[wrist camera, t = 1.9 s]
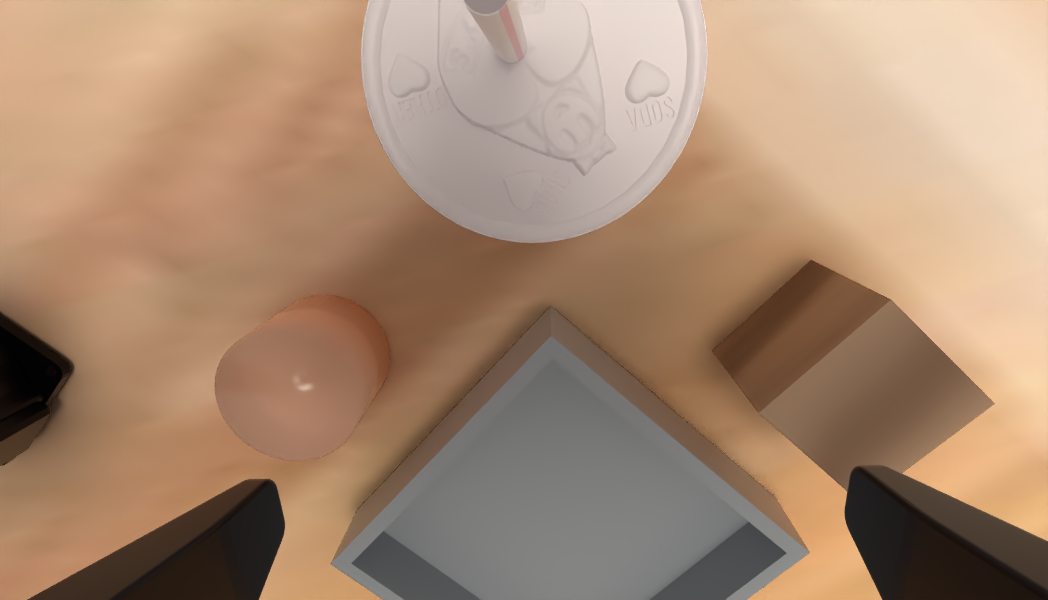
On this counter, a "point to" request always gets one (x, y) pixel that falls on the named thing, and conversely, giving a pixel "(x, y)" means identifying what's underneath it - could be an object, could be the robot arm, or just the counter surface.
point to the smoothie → (533, 105)
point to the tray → (566, 494)
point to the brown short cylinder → (303, 378)
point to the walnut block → (848, 375)
